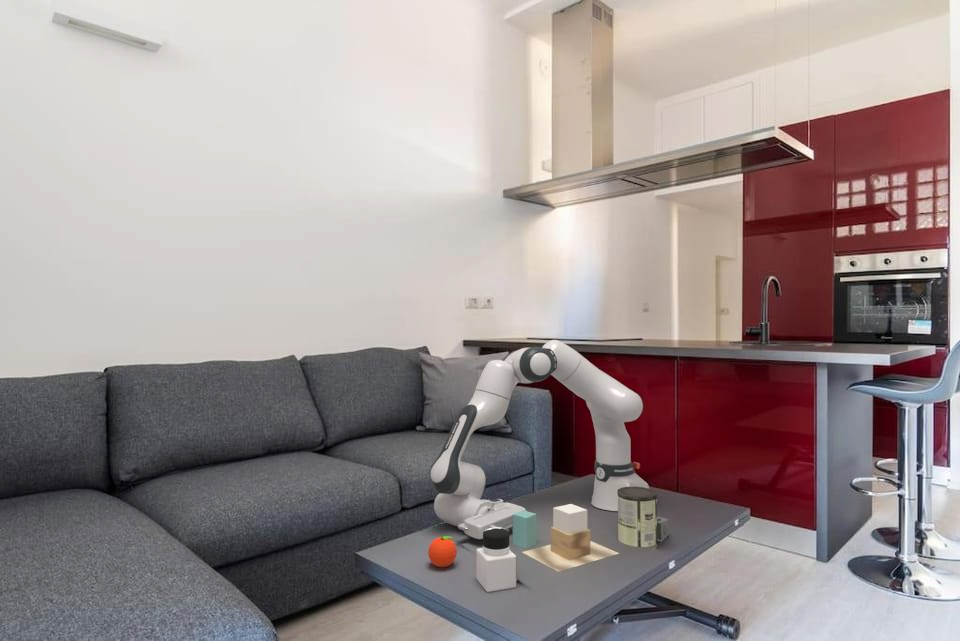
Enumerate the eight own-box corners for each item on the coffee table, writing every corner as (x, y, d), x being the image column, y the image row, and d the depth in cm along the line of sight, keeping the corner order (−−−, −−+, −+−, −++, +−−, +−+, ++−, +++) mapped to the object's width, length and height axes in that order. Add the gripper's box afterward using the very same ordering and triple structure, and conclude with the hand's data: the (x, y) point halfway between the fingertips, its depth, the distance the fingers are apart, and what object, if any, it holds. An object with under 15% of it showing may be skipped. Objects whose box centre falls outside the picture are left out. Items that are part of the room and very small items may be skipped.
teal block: (523, 544, 153) (523, 510, 153) (536, 548, 150) (536, 513, 150) (512, 548, 149) (512, 514, 149) (526, 553, 146) (526, 518, 146)
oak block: (571, 545, 148) (571, 522, 148) (590, 554, 142) (590, 530, 142) (550, 551, 144) (550, 527, 145) (569, 560, 139) (569, 535, 139)
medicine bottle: (516, 587, 127) (516, 533, 127) (486, 592, 124) (486, 537, 124) (504, 574, 133) (504, 523, 134) (476, 579, 131) (476, 526, 131)
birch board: (580, 541, 155) (580, 536, 155) (619, 558, 143) (619, 553, 143) (521, 556, 144) (521, 552, 144) (558, 576, 132) (558, 571, 132)
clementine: (451, 557, 144) (451, 528, 144) (465, 566, 138) (465, 537, 138) (423, 564, 139) (423, 535, 139) (437, 574, 134) (437, 544, 134)
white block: (571, 523, 148) (571, 503, 148) (587, 529, 143) (587, 509, 143) (553, 527, 144) (553, 507, 145) (569, 534, 139) (569, 514, 140)
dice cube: (661, 542, 154) (661, 523, 154) (643, 538, 157) (643, 519, 157) (668, 537, 158) (668, 519, 158) (651, 533, 161) (650, 515, 161)
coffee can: (628, 534, 160) (628, 484, 160) (664, 543, 153) (663, 491, 153) (610, 544, 152) (610, 491, 152) (646, 555, 145) (646, 499, 145)
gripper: (453, 514, 153) (492, 525, 143) (503, 497, 168) (541, 506, 158) (454, 537, 153) (492, 551, 143) (503, 518, 168) (541, 529, 158)
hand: (518, 527), depth 151 cm, fingers open, 8 cm apart
